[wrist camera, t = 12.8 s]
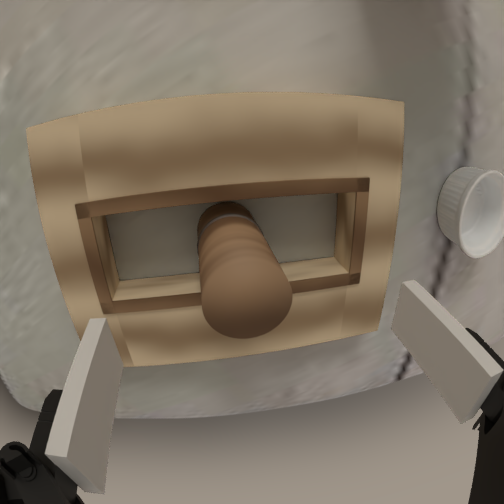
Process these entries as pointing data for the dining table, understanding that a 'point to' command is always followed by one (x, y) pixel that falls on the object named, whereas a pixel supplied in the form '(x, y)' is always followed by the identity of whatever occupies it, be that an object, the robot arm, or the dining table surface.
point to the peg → (239, 274)
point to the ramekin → (473, 210)
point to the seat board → (215, 190)
